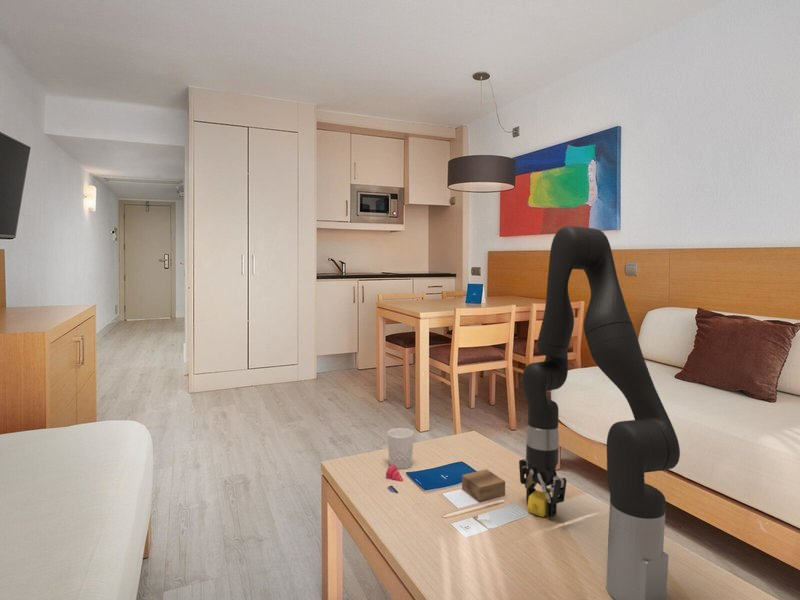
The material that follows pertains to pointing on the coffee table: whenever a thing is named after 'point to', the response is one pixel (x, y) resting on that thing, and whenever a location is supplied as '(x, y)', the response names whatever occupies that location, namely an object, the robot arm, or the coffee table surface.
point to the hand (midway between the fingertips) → (540, 509)
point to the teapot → (537, 503)
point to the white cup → (400, 447)
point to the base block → (483, 485)
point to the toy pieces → (393, 476)
